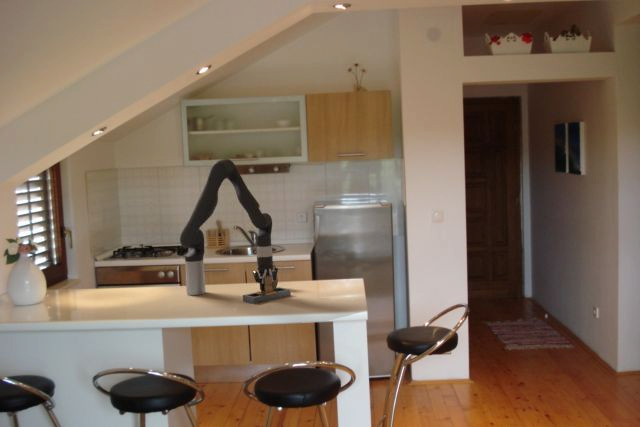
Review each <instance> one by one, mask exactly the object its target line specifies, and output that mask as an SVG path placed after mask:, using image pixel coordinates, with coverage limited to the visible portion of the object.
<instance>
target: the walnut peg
mask: <svg viewBox="0 0 640 427" xmlns="http://www.w3.org/2000/svg"><path fill="white" fill-rule="evenodd" d="M261 277H263V276H261ZM264 277H265V279H264V289H265V291H261V290H260V291H261V293H262V294H267V293H272V292H273V290H272V275H267V276H264Z"/></svg>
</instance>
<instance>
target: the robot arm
mask: <svg viewBox="0 0 640 427" xmlns="http://www.w3.org/2000/svg"><path fill="white" fill-rule="evenodd" d="M210 167H211V168H210V170H209V173H208V177H207V179H206V182H205V185H204V187H203V189H202V191H201V193H200V196H199V197H198V200H197V202H196V204H195V207H194V209H193V211H192V213H191V215H190V218H189V219H188V222H187V223H186V225H185V226H184V228H183V230H182V231H181V233H180V236H179V243H180V245H181V246H182V247H183V248H184V249H189V251H188V252H187V253H185V255H184V263H185V284H186V285H185V287H186V294H187V295H188V296H199V295H204V294H206V293H207V292H206V279H205V278H206V277H205V266H204V265H205V263H204V256H205V235H204V233H203V231H202V230H201V229H200V228H201V227H202V226H203V225H204V224H205V223H206V222H207V221H208V220H209V219H210V218H211V217H212V215H213V213H214V212H215V210H216V207H217V205H218V204H219V203H218V201H219V189H220V187H221V186H222V184H223V182H224V181H225V180H226V179H227V180H228V181H229V182H230V183H231V184H232V186H233V188H234V190H235V194H236V197H237V200H238V201H239V204H240V205H241V207H243V209H244V210H245V212H246V214H248V218H249V219H250V220H249V221H251V224H252V225H253V226H254V227H255V228H256V229H257V230H258V233H257V235H256V237H255V240H256V264H257V269H256V270H254V271H252V275H253V278H254V280H255V283H258V284H259V289H260V291H265V289H264V279H265V277H264V276H267V275H272V288H273V280H276V276H277V277H278V272H279V271H278V270H279V268H278V267H276V268H275V267H273V266H272V264H273V261H274V260H273V248H272V236H271V235H272V230H273V219H272V217H271V215H270V214H269V213H268V212H264V213H262V210H261V209H260V206H261V205H260V203H259V202H258V200H256V198H255V197H254V195H253V194H252V192H251V191H250V190H249V188H248V186H247V185H246V183H245V181H244V179H243V177H242V175H241V173H240V171H239V170H238V168H237V166H236V164H235V162H233V160H231V159H229V158H224V159H219V160H217V161H215V162H214V163H213V164H212V165H211V166H210ZM271 272H272V273H271ZM261 276H263V277H261Z"/></svg>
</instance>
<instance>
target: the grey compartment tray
mask: <svg viewBox="0 0 640 427" xmlns="http://www.w3.org/2000/svg"><path fill="white" fill-rule="evenodd" d="M272 290H273V292H272V293H267V294H262V293H261V290H260V291H256V292H252V293H247V294H242V302H243V303H248V304H252V305H257V304H261V303H265V302H270V301H274V300H279V299H282V298H287V297H291V296H292V294H291V291H292V290H291V289H289V288H284V287H276V288H274V289H272Z"/></svg>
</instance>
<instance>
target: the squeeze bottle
mask: <svg viewBox="0 0 640 427" xmlns="http://www.w3.org/2000/svg"><path fill="white" fill-rule="evenodd" d="M272 266H273V267H275V268H277V267H276V265H274V260H273V264H272ZM271 273H272V272H271ZM278 284H279V281H278V275H277V276H276V280H273V288H272V289H274V288H278V287H277V286H278Z"/></svg>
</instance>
